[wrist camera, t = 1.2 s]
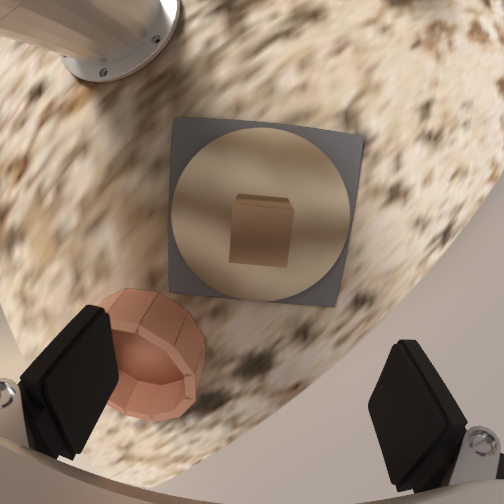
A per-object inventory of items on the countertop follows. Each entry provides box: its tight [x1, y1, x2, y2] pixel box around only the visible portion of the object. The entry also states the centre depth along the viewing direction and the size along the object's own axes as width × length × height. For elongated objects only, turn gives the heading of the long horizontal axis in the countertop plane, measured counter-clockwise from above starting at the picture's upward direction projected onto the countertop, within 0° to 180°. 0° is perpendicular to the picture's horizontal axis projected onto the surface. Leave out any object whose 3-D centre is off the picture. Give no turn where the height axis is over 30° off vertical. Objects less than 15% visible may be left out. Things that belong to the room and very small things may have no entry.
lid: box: [171, 128, 350, 301], centre depth 24 cm, size 15×15×6 cm
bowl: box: [98, 288, 205, 421], centre depth 29 cm, size 13×13×6 cm
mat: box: [169, 118, 364, 307], centre depth 27 cm, size 16×16×1 cm
